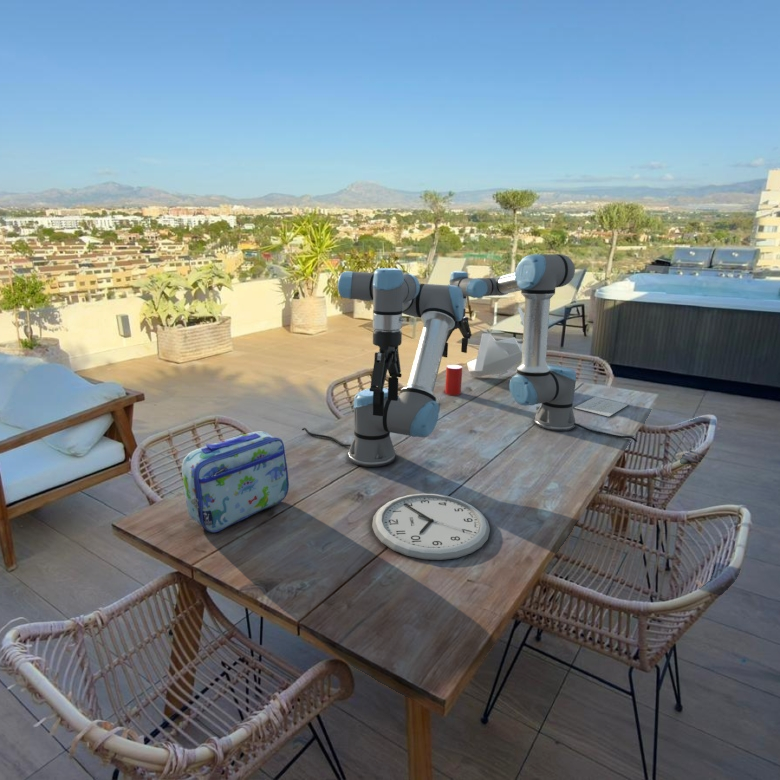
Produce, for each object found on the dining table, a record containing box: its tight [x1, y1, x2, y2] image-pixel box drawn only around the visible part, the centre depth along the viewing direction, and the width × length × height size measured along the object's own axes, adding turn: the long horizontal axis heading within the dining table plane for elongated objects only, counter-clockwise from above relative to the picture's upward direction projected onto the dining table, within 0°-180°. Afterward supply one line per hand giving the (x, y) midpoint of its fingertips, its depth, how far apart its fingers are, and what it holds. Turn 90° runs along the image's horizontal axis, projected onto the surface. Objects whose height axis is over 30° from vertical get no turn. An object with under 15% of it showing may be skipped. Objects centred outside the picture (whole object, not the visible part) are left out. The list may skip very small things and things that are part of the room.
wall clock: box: [371, 493, 491, 561], centre depth 134 cm, size 30×2×30 cm
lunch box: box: [181, 430, 290, 533], centre depth 135 cm, size 26×11×21 cm, turn 134°
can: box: [444, 364, 463, 396], centre depth 240 cm, size 7×7×13 cm
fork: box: [436, 396, 442, 405], centre depth 222 cm, size 3×16×2 cm, turn 160°
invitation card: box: [573, 396, 629, 418], centre depth 226 cm, size 21×1×15 cm
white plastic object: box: [466, 306, 548, 378], centre depth 259 cm, size 37×45×31 cm
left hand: (385, 407), depth 142 cm, fingers open, 13 cm apart
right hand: (454, 354), depth 236 cm, fingers open, 13 cm apart
